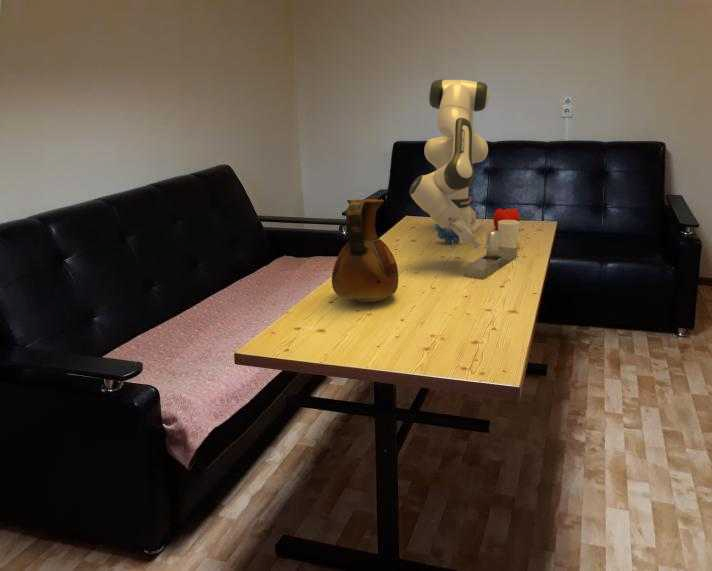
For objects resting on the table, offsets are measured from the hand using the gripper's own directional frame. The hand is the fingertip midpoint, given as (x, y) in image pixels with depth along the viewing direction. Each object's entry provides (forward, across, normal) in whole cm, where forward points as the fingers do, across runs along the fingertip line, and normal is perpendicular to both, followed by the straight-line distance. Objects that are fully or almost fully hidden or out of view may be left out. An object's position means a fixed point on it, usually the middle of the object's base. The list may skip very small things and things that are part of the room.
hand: (476, 243), depth 234 cm
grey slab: (+10, 0, +2) cm, 10 cm away
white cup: (+17, +25, -6) cm, 31 cm away
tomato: (+21, +56, -10) cm, 60 cm away
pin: (+10, 0, +2) cm, 10 cm away
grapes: (+2, +32, +9) cm, 34 cm away
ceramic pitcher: (-21, -33, +33) cm, 51 cm away
